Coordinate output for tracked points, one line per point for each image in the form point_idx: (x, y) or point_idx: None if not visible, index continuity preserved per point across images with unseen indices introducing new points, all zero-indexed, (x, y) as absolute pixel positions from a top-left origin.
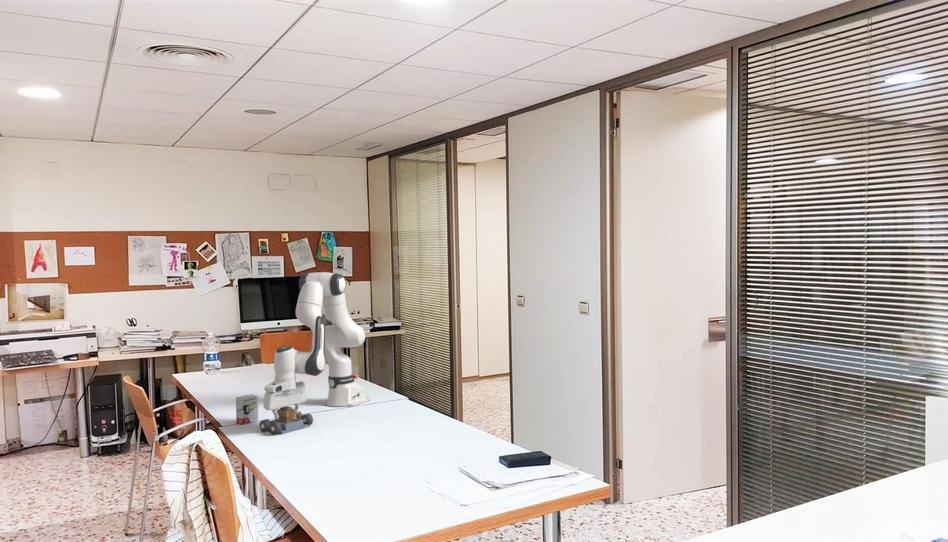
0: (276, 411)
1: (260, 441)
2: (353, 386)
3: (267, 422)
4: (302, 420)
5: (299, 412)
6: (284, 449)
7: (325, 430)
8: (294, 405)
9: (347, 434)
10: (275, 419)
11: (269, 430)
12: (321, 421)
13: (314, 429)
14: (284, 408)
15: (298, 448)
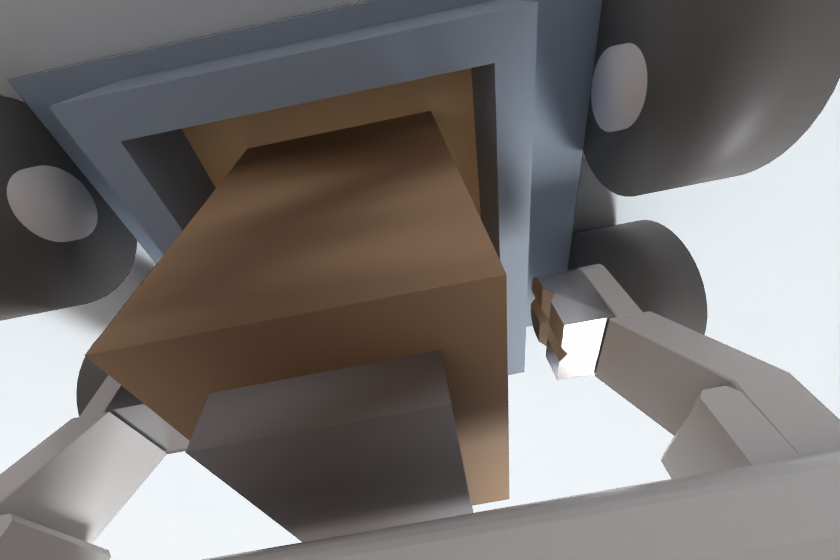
0: (123, 308)
1: (48, 418)
2: None
3: (9, 317)
4: (511, 370)
5: (765, 150)
6: (207, 530)
7: (542, 420)
8: (700, 398)
9: (544, 491)
10: (203, 86)
11: (126, 217)
12: (784, 213)
13: (520, 378)
14: (298, 528)
15: (271, 535)
